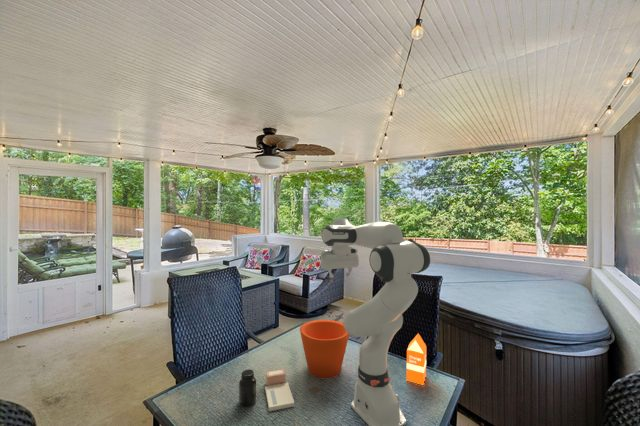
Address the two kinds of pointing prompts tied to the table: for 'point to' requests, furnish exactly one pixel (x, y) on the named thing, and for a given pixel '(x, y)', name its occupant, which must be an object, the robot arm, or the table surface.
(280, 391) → the cream flat block
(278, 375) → the pink box
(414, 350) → the orange juice
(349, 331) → the robot arm
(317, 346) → the flowerpot
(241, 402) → the supplement bottle
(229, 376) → the table surface
